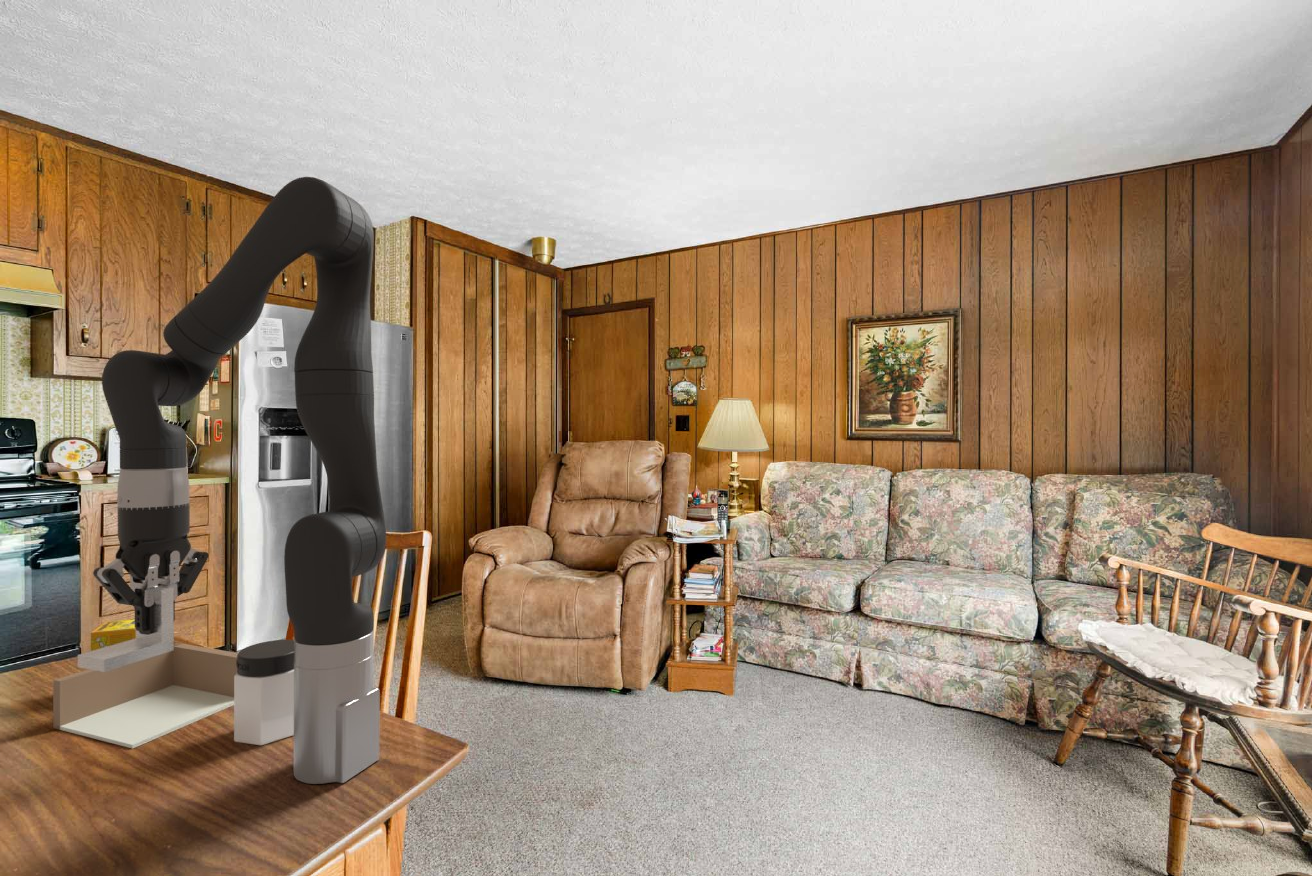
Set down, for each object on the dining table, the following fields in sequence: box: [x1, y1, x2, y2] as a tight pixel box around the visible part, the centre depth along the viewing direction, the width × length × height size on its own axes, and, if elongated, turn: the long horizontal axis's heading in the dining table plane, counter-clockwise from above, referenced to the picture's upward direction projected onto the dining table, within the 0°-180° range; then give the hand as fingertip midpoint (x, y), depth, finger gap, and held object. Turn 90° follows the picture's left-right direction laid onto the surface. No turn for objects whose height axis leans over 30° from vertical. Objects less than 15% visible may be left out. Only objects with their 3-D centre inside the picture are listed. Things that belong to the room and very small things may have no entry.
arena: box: [52, 642, 239, 749], centre depth 95 cm, size 17×17×7 cm
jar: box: [233, 639, 294, 746], centre depth 90 cm, size 9×8×12 cm
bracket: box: [77, 585, 175, 672], centre depth 80 cm, size 8×5×8 cm, turn 161°
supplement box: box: [90, 618, 136, 651], centre depth 103 cm, size 6×6×11 cm
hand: (155, 630), depth 83 cm, fingers closed on bracket, 1 cm apart
